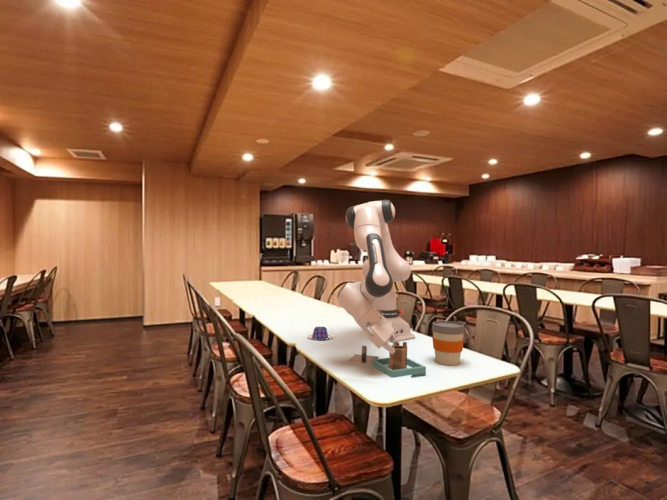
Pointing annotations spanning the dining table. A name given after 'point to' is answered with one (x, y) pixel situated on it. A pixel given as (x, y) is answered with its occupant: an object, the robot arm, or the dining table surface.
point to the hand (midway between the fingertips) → (396, 349)
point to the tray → (415, 371)
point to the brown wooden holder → (398, 357)
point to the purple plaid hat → (320, 333)
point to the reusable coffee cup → (448, 341)
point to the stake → (363, 357)
